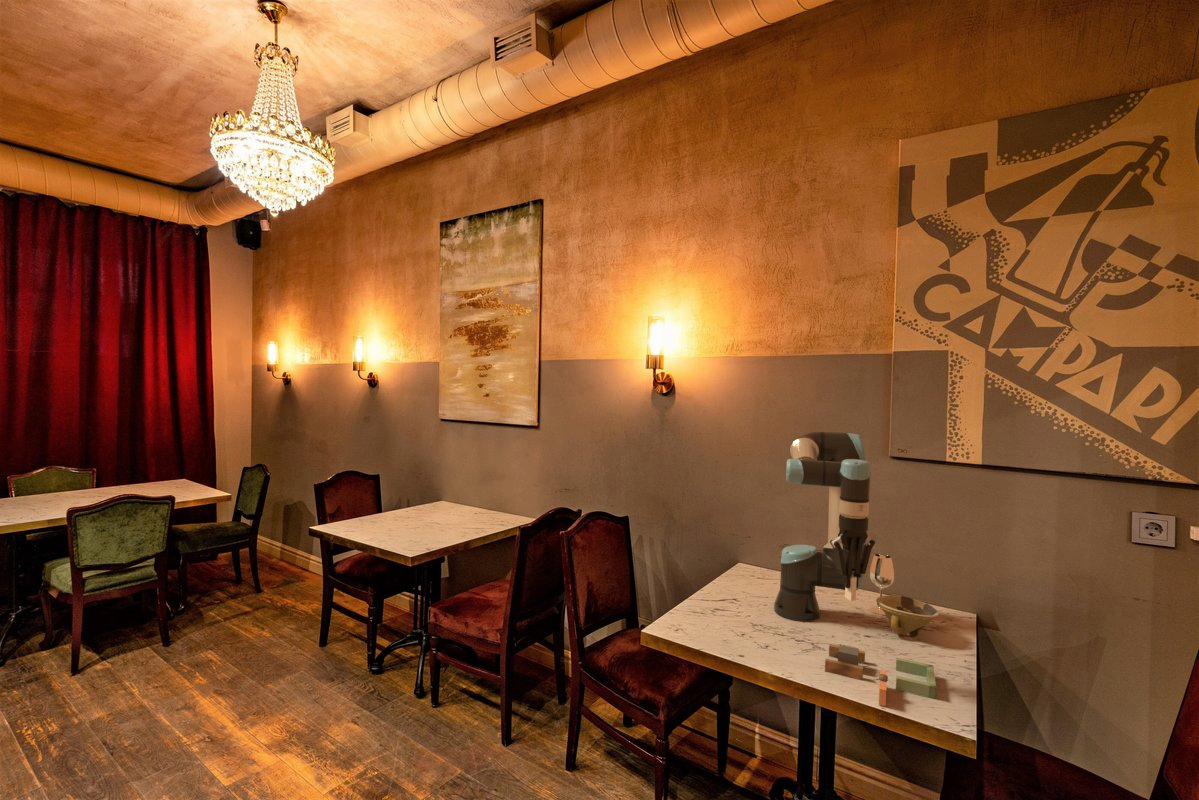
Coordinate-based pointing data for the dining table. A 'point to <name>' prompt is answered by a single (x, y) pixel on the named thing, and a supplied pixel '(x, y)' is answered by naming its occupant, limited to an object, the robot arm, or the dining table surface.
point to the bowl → (906, 614)
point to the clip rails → (844, 664)
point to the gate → (882, 687)
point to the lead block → (848, 655)
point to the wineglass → (881, 575)
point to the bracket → (914, 685)
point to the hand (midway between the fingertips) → (850, 598)
